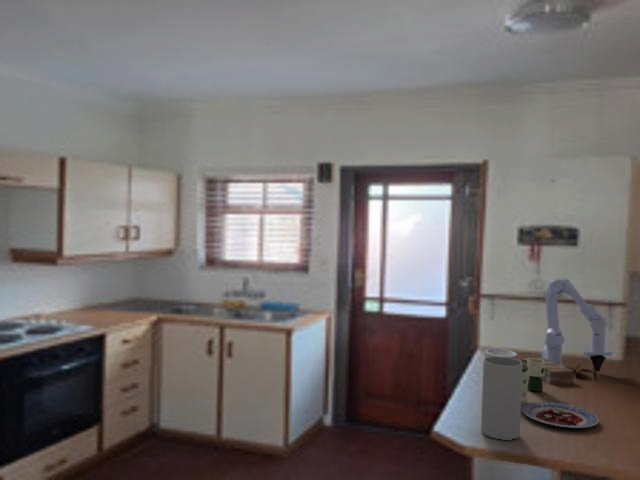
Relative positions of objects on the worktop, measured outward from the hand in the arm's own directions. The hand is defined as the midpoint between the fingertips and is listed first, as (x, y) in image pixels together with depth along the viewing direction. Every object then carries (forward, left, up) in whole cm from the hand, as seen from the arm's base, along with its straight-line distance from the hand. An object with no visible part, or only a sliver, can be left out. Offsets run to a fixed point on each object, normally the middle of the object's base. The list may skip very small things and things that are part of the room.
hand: (596, 370), depth 270 cm
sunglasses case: (+1, -7, -2) cm, 7 cm away
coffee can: (+28, -63, -2) cm, 69 cm away
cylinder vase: (+59, -88, -2) cm, 106 cm away
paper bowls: (-17, -41, -2) cm, 45 cm away
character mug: (+18, -46, -2) cm, 50 cm away
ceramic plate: (+50, -58, -2) cm, 77 cm away
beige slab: (0, -28, -1) cm, 28 cm away
